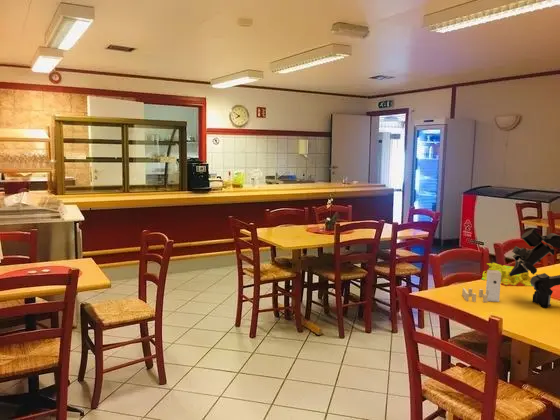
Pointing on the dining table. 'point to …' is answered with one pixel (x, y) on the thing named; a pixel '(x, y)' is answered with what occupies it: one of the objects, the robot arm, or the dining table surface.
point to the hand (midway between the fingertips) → (509, 275)
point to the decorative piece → (506, 278)
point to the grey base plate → (473, 295)
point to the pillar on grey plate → (493, 285)
